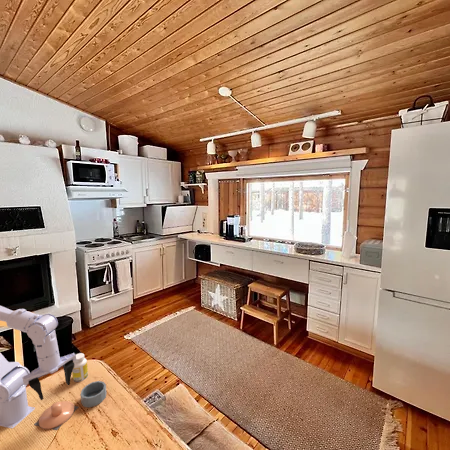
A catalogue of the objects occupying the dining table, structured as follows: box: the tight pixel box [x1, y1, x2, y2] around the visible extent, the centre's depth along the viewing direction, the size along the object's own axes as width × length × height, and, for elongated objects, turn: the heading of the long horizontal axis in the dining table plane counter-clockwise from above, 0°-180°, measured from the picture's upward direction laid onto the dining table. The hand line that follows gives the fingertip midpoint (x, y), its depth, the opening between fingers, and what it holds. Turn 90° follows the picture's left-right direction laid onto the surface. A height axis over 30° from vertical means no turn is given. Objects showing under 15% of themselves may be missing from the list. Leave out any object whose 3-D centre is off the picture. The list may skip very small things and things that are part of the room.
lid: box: [38, 400, 75, 430], centre depth 86 cm, size 10×10×4 cm
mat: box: [33, 405, 79, 431], centre depth 86 cm, size 9×9×1 cm
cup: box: [79, 380, 107, 408], centre depth 93 cm, size 8×8×4 cm
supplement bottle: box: [71, 352, 89, 383], centre depth 103 cm, size 5×5×10 cm
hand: (55, 390), depth 85 cm, fingers open, 7 cm apart
